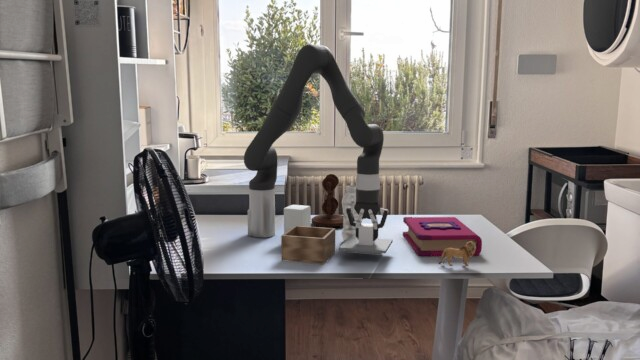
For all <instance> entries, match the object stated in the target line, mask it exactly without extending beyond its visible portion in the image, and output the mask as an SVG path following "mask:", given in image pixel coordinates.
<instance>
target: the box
mask: <svg viewBox="0 0 640 360" xmlns="http://www.w3.org/2000/svg"><path fill="white" fill-rule="evenodd" d="M280 239H281V241H280V242H281V249H280V250H281V252H280V253H281V255H280V256H281V259H280V260H281V261H286V262H298V263H310V264H320V265H321V264H322V265H325V264H326V263H327V262H328V261H329V260H330V258H331V257H332V256H333V255H335V253H336V228H333V227H322V226H318V227H315V226H311V227H307V226H294V227H292V228H291V229H290V230H288V231H287V232H286V233H284V232H283V234H282V235H281V237H280Z"/></svg>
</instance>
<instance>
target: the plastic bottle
mask: <svg viewBox="0 0 640 360" xmlns="http://www.w3.org/2000/svg"><path fill="white" fill-rule="evenodd" d="M345 191H346V192H345V194H344V196H343V197H342V199H341V205H342V206H341V207H342V215H343V216H344V217H343V219H344V220H343V225H342V228H341V229H342V230H341V238H342V241H343V242H345V241H346V240H347V239H348V238H349V236H352V237H356V228H355V227H354V226H351V225H350V222H349V219H348V215H347V212H346V209H347V208H348V207H354V206H355V204H356V184H355V185H354V184H352V185H351V184H349V185H346V186H345ZM353 216H354V220H355V222H357V219H358V216H359V215H358V213H357V212H356V211H355V210H354V213H353Z"/></svg>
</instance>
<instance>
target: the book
mask: <svg viewBox="0 0 640 360" xmlns="http://www.w3.org/2000/svg"><path fill="white" fill-rule="evenodd" d="M402 220H403V223H404V224H405V225H406V226H407V227H408V230H407V231H402V236H403V238H405V240H406V241H407V242H408V244H409V245H410V247H411V249H413V251H414V253H415V254H416V255H417V257H421V258H423V257H424V258H425V257H426V258H431V257H442V253H443V251H444V250H445V249H446V248H454V249H460V248H462V247H463V246H465V245H466V243H467V242H469V241H472V242H474V243H476V250H475V253H474V254H473V256H472V257H477V256H478V255H480V254H481V252H482V248H483V246H482V245H483V240H482V238H481V236H479V235H478V234H477V233H475V231H473V230H472V229H470V227H468V226H467V225H465V224H464V223H463V222H462V221H461V220H459V218H457V217H455V216H433V217H431V216H426V217H425V216H421V217H418V216H414V217H413V216H403V219H402ZM444 254H445V253H444Z"/></svg>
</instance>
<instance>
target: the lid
mask: <svg viewBox="0 0 640 360" xmlns="http://www.w3.org/2000/svg"><path fill="white" fill-rule="evenodd" d="M373 229H374V227H373V223H364V222H361V224H360V226H359V239H357V238H356V237H352V236H349V238H348V239H347V240H346V241H343V243H342V244H341V245H340V246H339V247H338V248H339V251H344V252H345V253H350V254H351V253H352V254H353V253H354V254H365V255H379V256H382V255H383V254H386V253H387V251H388V250H389V248H390V247H391V245H392V243H393V242H394V241H393V239H392V238H381V237H380V238H379V237H378V238H377V239H376V240H375V241H373Z"/></svg>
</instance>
